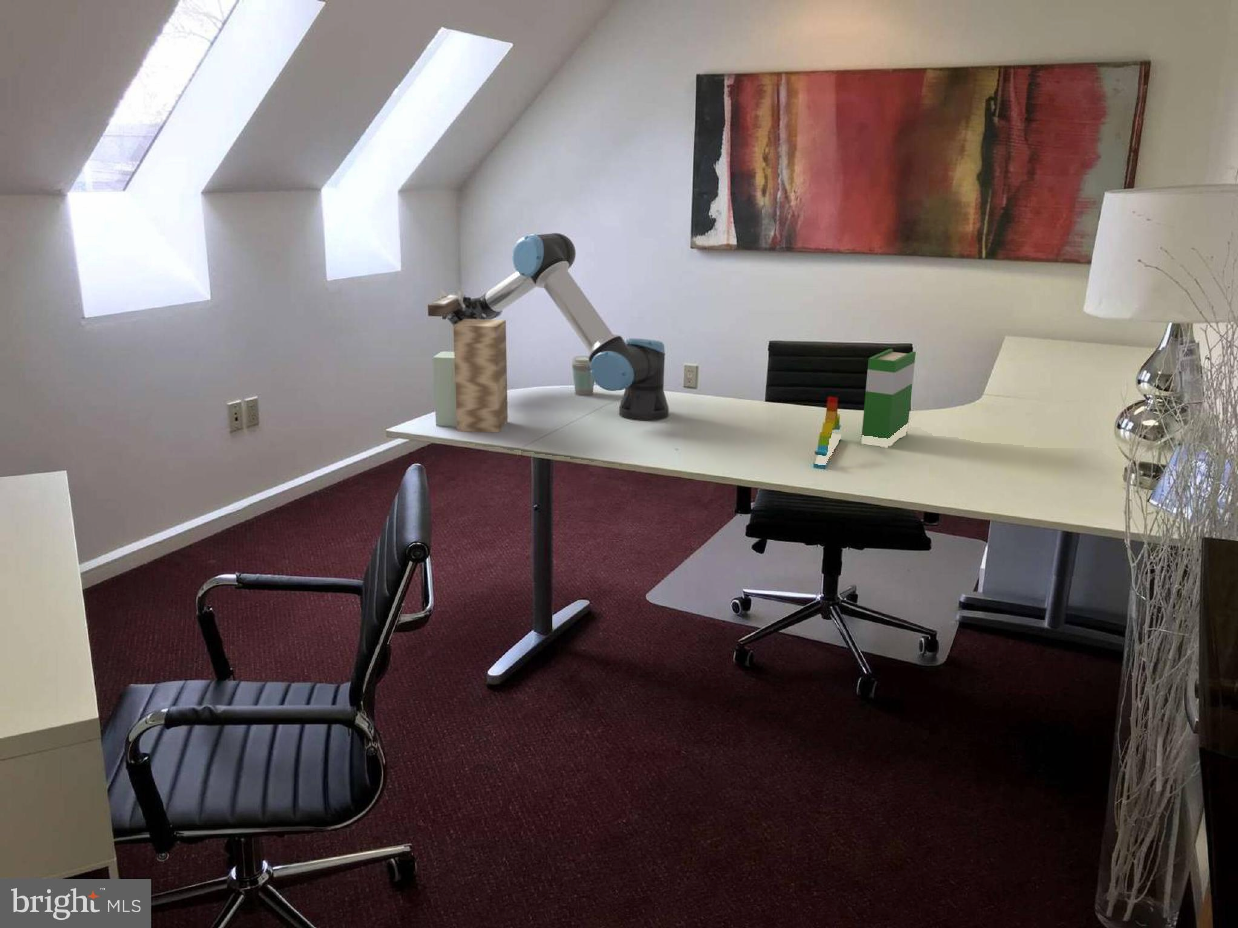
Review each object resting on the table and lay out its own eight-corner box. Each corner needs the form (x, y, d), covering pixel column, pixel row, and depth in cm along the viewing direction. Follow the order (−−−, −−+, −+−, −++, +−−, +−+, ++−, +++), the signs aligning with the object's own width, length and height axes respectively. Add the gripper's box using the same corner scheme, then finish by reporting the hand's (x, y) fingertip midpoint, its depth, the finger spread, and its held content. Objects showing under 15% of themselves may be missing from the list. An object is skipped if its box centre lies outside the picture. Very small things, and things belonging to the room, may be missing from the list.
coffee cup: (593, 397, 315) (593, 361, 312) (568, 395, 317) (568, 359, 313) (599, 391, 323) (599, 356, 320) (574, 390, 325) (574, 355, 321)
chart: (825, 470, 243) (830, 412, 239) (813, 469, 244) (817, 411, 240) (841, 440, 271) (846, 387, 266) (830, 439, 272) (834, 387, 267)
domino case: (465, 305, 283) (464, 294, 282) (444, 316, 262) (443, 305, 261) (450, 304, 284) (449, 294, 283) (428, 316, 263) (427, 304, 262)
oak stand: (507, 421, 284) (505, 320, 275) (498, 432, 272) (496, 326, 263) (467, 420, 285) (464, 318, 276) (457, 430, 273) (453, 325, 265)
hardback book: (881, 430, 280) (889, 348, 273) (907, 434, 276) (915, 351, 269) (860, 444, 266) (868, 358, 259) (887, 448, 262) (895, 361, 255)
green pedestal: (467, 418, 286) (465, 352, 280) (459, 426, 278) (457, 358, 272) (444, 417, 287) (441, 351, 281) (435, 425, 278) (432, 357, 273)
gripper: (496, 336, 296) (478, 307, 273) (440, 334, 297) (418, 305, 275) (498, 313, 297) (481, 282, 275) (442, 311, 299) (421, 281, 276)
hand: (450, 294), depth 275 cm, fingers closed on domino case, 4 cm apart
